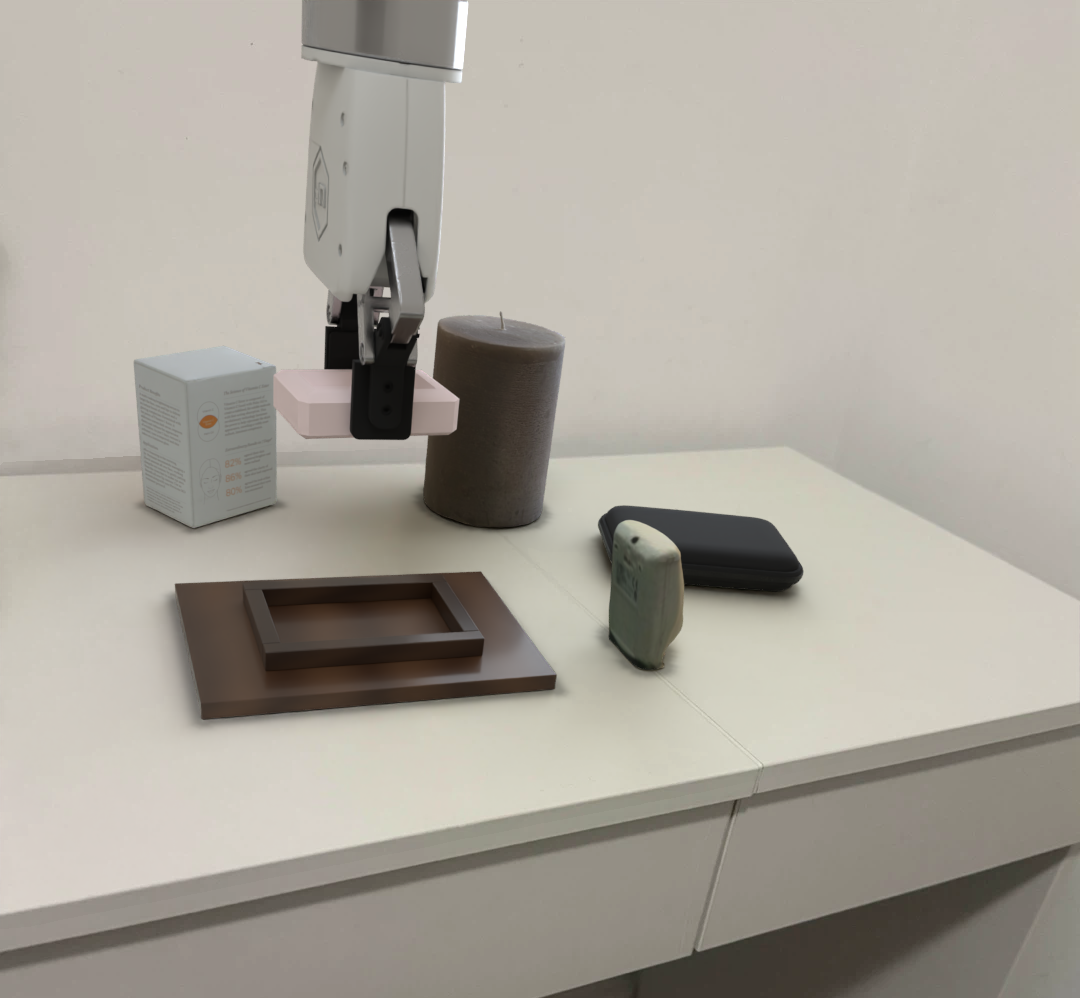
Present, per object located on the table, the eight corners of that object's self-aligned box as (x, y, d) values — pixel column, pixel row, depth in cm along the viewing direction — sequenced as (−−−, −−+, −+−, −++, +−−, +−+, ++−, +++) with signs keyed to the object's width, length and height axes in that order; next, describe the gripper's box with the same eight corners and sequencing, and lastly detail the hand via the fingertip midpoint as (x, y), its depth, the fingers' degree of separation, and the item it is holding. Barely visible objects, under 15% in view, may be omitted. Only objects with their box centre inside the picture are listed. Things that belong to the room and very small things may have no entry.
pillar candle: (454, 533, 80) (474, 328, 72) (404, 486, 87) (416, 294, 79) (564, 523, 84) (594, 329, 77) (508, 479, 91) (530, 297, 83)
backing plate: (201, 719, 55) (199, 683, 54) (175, 597, 66) (173, 565, 64) (554, 689, 62) (560, 657, 61) (479, 584, 73) (483, 555, 72)
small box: (229, 482, 82) (225, 343, 77) (279, 505, 80) (279, 363, 74) (141, 505, 77) (130, 357, 71) (191, 530, 74) (185, 379, 69)
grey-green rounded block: (572, 645, 67) (592, 527, 63) (615, 620, 71) (636, 508, 67) (649, 679, 65) (675, 560, 61) (689, 651, 69) (716, 537, 65)
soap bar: (271, 410, 59) (271, 365, 58) (422, 407, 63) (425, 366, 62) (300, 443, 55) (300, 396, 54) (459, 438, 59) (463, 394, 58)
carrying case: (765, 542, 87) (589, 526, 85) (774, 507, 85) (595, 490, 83) (804, 601, 78) (609, 585, 76) (815, 563, 76) (616, 546, 74)
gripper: (270, 15, 54) (270, 370, 64) (346, 31, 41) (331, 475, 51) (411, 37, 57) (391, 374, 67) (524, 59, 44) (478, 474, 54)
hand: (365, 414), depth 59 cm, fingers closed on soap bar, 5 cm apart
